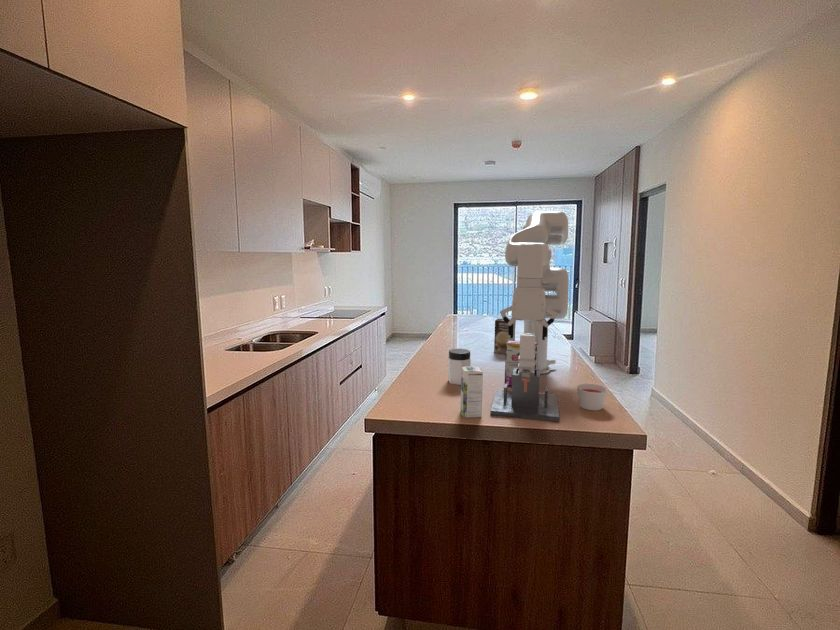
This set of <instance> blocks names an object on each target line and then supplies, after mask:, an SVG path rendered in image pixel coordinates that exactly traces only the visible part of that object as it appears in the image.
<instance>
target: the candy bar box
mask: <svg viewBox="0 0 840 630" xmlns="http://www.w3.org/2000/svg"><path fill="white" fill-rule="evenodd" d="M537 353H538V343H535V347H534V356H535V362H534V363H535V369H537ZM519 355H520V340H515V341H507V343H506V354H505V363H504V367H505V368H504V385H505V384H507V387H512V374H513V370H514V368H518V365H519V361H518V358H519Z"/></svg>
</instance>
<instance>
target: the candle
mask: <svg viewBox="0 0 840 630" xmlns="http://www.w3.org/2000/svg"><path fill="white" fill-rule="evenodd" d="M576 391H577V397H578V405H579V407H580V408H581V409H584V410H587V411H601V410H602V409H603V407H604V405H605V404H604V403H605V400H606V397H607V392H608V389H607V387H605V386H603V385H599V384H595V383H580V384H578V385H576Z"/></svg>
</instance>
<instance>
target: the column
mask: <svg viewBox="0 0 840 630" xmlns="http://www.w3.org/2000/svg"><path fill="white" fill-rule="evenodd" d="M519 341H520V355H519V358H518V361H519V365H518V369H519V371H518V374H520V375H522V371H530V375H534V372H535V371H534V370H535V363H534V362H535V356H534V347H535V333H524V332H520V336H519Z"/></svg>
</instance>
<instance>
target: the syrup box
mask: <svg viewBox="0 0 840 630" xmlns="http://www.w3.org/2000/svg"><path fill="white" fill-rule="evenodd" d="M483 382H484V371H483V370H482V369H481V368H480V367H479V366H473V365H472V366H466V367H462V376H461V385H460V413H461V416H462V418H465V419H468V418H482V416H483V415H482V411H483V410H482V409H483Z"/></svg>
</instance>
